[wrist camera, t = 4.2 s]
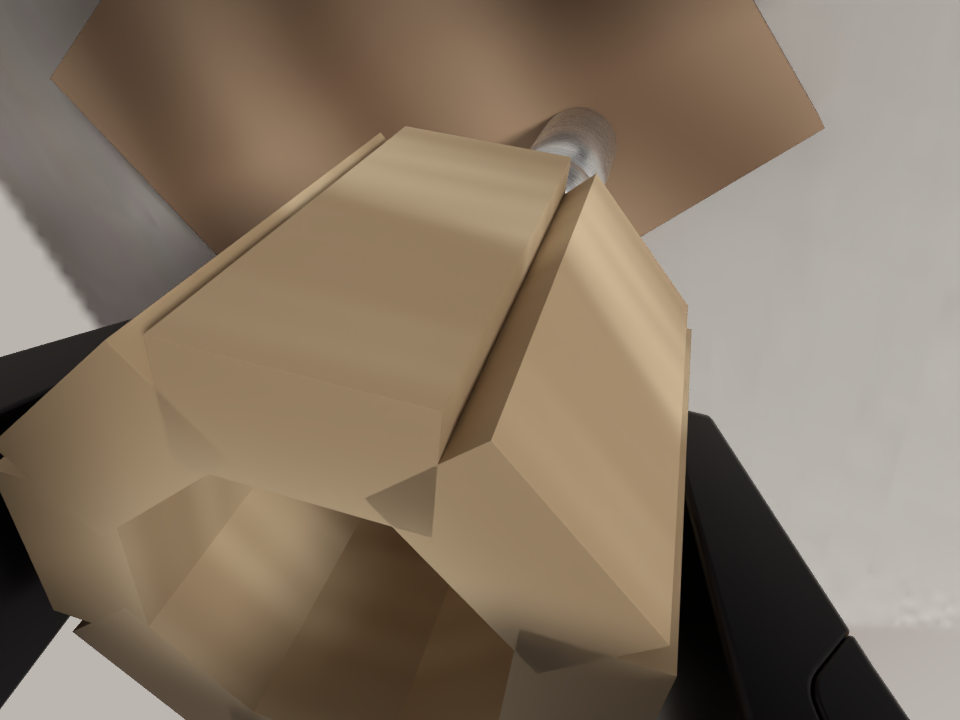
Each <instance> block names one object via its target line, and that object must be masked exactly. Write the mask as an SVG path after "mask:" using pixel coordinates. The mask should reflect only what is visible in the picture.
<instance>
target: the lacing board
mask: <svg viewBox="0 0 960 720" xmlns="http://www.w3.org/2000/svg"><path fill="white" fill-rule="evenodd" d="M50 79H51V80H52V81H53V82H54V83H55V84H56V85H57V86H58V87H59V89H60V90H61V91H62V92H63V93H64V94H65V95H66V96H67V97H68V98H69V99H70V100H71V101H72V102H73V103H74V104H75V105H76V107H77V108H78V109H79V110H80V111H81V112H82V113H83V114H84V115H85V116H86V117H87V118H88V119H89V120H90V121H91V122H92V123H93V125H94V126H95V127H96V128H97V129H98V130H99V131H100V132H101V133H102V134H103V135H104V136H105V137H106V138H107V139H108V140H109V141H110V143H111V144H112V145H113V146H114V147H115V148H116V149H117V150H118V151H119V152H120V153H121V154H122V155H123V156H124V157H125V158H126V159H127V161H128V162H129V163H130V164H131V165H132V166H133V167H134V168H135V169H136V170H137V171H138V172H139V173H140V174H141V175H142V176H143V177H144V179H145V180H146V181H147V182H148V183H149V184H150V185H151V186H152V187H153V188H154V189H155V190H156V191H157V192H158V193H159V194H160V195H161V197H162V198H163V199H164V200H165V201H166V202H167V203H168V204H169V205H170V206H171V207H172V208H173V209H174V210H175V211H176V212H177V213H178V215H179V216H180V217H181V218H182V219H183V220H184V221H185V222H186V223H187V224H188V225H189V226H190V227H191V228H192V229H193V230H194V231H195V233H196V234H197V235H198V236H199V237H200V238H201V239H202V240H203V241H204V242H205V243H206V244H207V245H208V246H209V247H210V248H211V249H212V251H213V252H214V253H215V254H216V255H219V254H220V253H221V252H223V251H224V250H225V249H226V248H228V247H229V246H230V245H232V244H233V243H234V242H236V241H237V240H238V239H240V238H241V237H242V236H244V235H245V234H246V233H248V232H249V231H250V230H252V229H253V228H254V227H256V226H257V225H258V224H260V223H261V222H262V221H264V220H265V219H266V218H268V217H269V216H270V215H272V214H273V213H274V212H276V211H277V210H278V209H280V208H281V207H282V206H284V205H285V204H286V203H288V202H289V201H290V200H292V199H293V198H294V197H296V196H297V195H298V194H300V193H301V192H302V191H303V190H305V189H306V188H307V187H309V186H310V185H311V184H313V183H314V182H315V181H317V180H318V179H319V178H321V177H322V176H323V175H325V174H326V173H327V172H329V171H330V170H331V169H333V168H334V167H335V166H337V165H338V164H339V163H341V162H342V161H343V160H345V159H346V158H347V157H349V156H350V155H351V154H353V153H354V152H355V151H357V150H358V149H359V148H361V147H362V146H363V145H365V144H366V143H367V142H369V141H370V140H371V139H373V138H374V137H375V136H376V135H378V134H379V133H380V132H381V134H382V135H383V136H384V137H385V139H386V140H389V139H390V138H391V137H392V136H394V135H395V134H396V133H398V132H399V131H400V130H401V129H403V128H404V127H405V126H407V127H413V128H418V129H423V130H429V131H434V132H439V133H445V134H450V135H455V136H461V137H466V138H472V139H477V140H482V141H488V142H493V143H498V144H504V145H509V146H514V147H520V148H525V149H530V148H531V147H532V145H533V144H534V142H535V141H536V139H537V138H538V136H539V135H540V133H541V132H542V130H543V129H544V127H545V126H546V124H547V123H548V122H549V120H550V119H551V118H552V117H553V116H555V115H556V114H557V113H559V112H560V111H562V110H565V109H568V108H572V107H586V108H590V109H593V110H595V111H597V112H599V113H600V114H601V115H603V116H604V117H605V118H606V119H607V120H608V121H609V123H610V124H611V126H612V127H613V129H614V132H615V135H616V140H617V151H616V156H615V159H614V162H613V165H612V168H611V171H610V174H609V177H608V180H607V182H606V185H605V186H606V188H607V189H608V191H609V192H610V194H611V195H612V197H613V198H614V200H615V201H616V202H617V204H618V205H619V207H620V208H621V210H622V211H623V213H624V214H625V215H626V217H627V218H628V220H629V221H630V223H631V224H632V226H633V227H634V229H635V230H636V231H637V233H638V234H639V236H640V237H641V236H643V235H644V234H646V233H648V232H650V231H651V230H653V229H655V228H656V227H658V226H660V225H661V224H663V223H665V222H666V221H668V220H670V219H672V218H673V217H675V216H677V215H678V214H680V213H682V212H683V211H685V210H687V209H689V208H690V207H692V206H694V205H695V204H697V203H699V202H700V201H702V200H704V199H705V198H707V197H709V196H711V195H712V194H714V193H716V192H717V191H719V190H721V189H722V188H724V187H726V186H728V185H729V184H731V183H733V182H734V181H736V180H738V179H739V178H741V177H743V176H745V175H746V174H748V173H750V172H751V171H753V170H755V169H756V168H758V167H760V166H761V165H763V164H765V163H767V162H768V161H770V160H772V159H773V158H775V157H777V156H778V155H780V154H782V153H784V152H785V151H787V150H789V149H790V148H792V147H794V146H795V145H797V144H799V143H800V142H802V141H804V140H806V139H807V138H809V137H811V136H812V135H814V134H816V133H817V132H819V131H821V130H823V129H824V128H825V127H824V125H823V123H822V121H821V119H820V117H819V115H818V113H817V111H816V109H815V108H814V106H813V104H812V102H811V101H810V99H809V97H808V95H807V94H806V92H805V90H804V88H803V87H802V85H801V83H800V81H799V80H798V78H797V76H796V74H795V73H794V71H793V69H792V67H791V65H790V64H789V62H788V60H787V58H786V57H785V55H784V53H783V51H782V50H781V48H780V46H779V44H778V43H777V41H776V39H775V37H774V36H773V34H772V32H771V30H770V29H769V27H768V25H767V23H766V21H765V20H764V18H763V16H762V14H761V13H760V11H759V9H758V7H757V6H756V4H755V2H754V0H101V1H100V3H99V4H98V6H97V7H96V9H95V10H94V12H93V13H92V15H91V16H90V18H89V20H88V21H87V23H86V24H85V26H84V27H83V29H82V30H81V32H80V33H79V35H78V36H77V38H76V39H75V41H74V42H73V44H72V45H71V47H70V49H69V50H68V52H67V53H66V55H65V56H64V58H63V59H62V61H61V62H60V64H59V65H58V67H57V68H56V70H55V71H54V73H53V74H52V76H51V78H50Z"/></svg>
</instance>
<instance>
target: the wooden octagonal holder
mask: <svg viewBox="0 0 960 720" xmlns="http://www.w3.org/2000/svg"><path fill="white" fill-rule="evenodd" d="M570 162H571V157H568V156H563V155H557V154H552V153H547V152H541V151H536V150H531V149H525V148H520V147H514V146H509V145H504V144H498V143H493V142H488V141H482V140H477V139H472V138H466V137H461V136H455V135H450V134H445V133H439V132H434V131H429V130H423V129H418V128H413V127H407V126H405V127H404V128H403V129H401V130H400V131H399V132H398V133H396V134H395V135H394V136H392V137H391V138H390V139H389V140H386V139H385V137H384V136H383V135H382V134H381V132H380V133H379V134H378V135H376V136H375V137H374V138H373V139H371V140H370V141H369V142H367V143H366V144H365V145H363V146H362V147H361V148H359V149H358V150H357V151H355V152H354V153H353V154H351V155H350V156H349V157H347V158H346V159H345V160H343V161H342V162H341V163H339V164H338V165H337V166H335V167H334V168H333V169H331V170H330V171H329V172H327V173H326V174H325V175H323V176H322V177H321V178H319V179H318V180H317V181H315V182H314V183H313V184H311V185H310V186H309V187H307V188H306V189H305V190H303V191H302V192H301V193H300V194H298V195H297V196H296V197H294V198H293V199H292V200H290V201H289V202H288V203H286V204H285V205H284V206H282V207H281V208H280V209H278V210H277V211H276V212H274V213H273V214H272V215H270V216H269V217H268V218H266V219H265V220H264V221H262V222H261V223H260V224H258V225H257V226H256V227H254V228H253V229H252V230H250V231H249V232H248V233H246V234H245V235H244V236H242V237H241V238H240V239H238V240H237V241H236V242H234V243H233V244H232V245H230V246H229V247H228V248H226V249H225V250H224V251H223V252H221V253H220V254H219V255H217V256H216V257H215V258H213V259H212V260H211V261H209V262H208V263H207V264H205V265H204V266H203V267H201V268H200V269H199V270H197V271H196V272H195V273H193V274H192V275H191V276H189V277H188V278H187V279H185V280H184V281H183V282H181V283H180V284H179V285H177V286H176V287H175V288H173V289H172V290H171V291H169V292H168V293H167V294H165V295H164V296H163V297H161V298H160V299H159V300H157V301H156V302H155V303H153V304H152V305H151V306H150V307H148V308H147V309H146V310H144V311H143V312H142V313H140V314H139V315H138V316H136V317H135V318H134V319H132V320H131V321H130V322H128V323H127V324H126V325H124V326H123V327H122V328H120V329H119V330H118V331H116V332H115V333H114V334H112V335H111V336H110V337H108V338H107V339H106V340H104V341H103V342H102V343H101V344H100V345H99V346H98V347H97V348H96V349H95V350H94V351H92V352H91V353H90V354H89V355H88V356H87V357H86V358H85V359H84V360H83V361H82V362H80V363H79V364H78V365H77V366H76V367H75V368H74V369H73V370H72V371H71V372H70V373H68V374H67V375H66V376H65V377H64V378H63V379H62V380H61V381H60V382H59V383H58V384H57V385H55V386H54V387H53V388H52V389H51V390H50V391H49V392H48V393H47V394H46V395H45V396H43V397H42V398H41V399H40V400H39V401H38V402H37V403H36V404H35V405H34V406H33V407H31V408H30V409H29V410H28V411H27V412H26V413H25V414H24V415H23V416H22V417H21V418H20V419H18V420H17V421H16V422H15V423H14V424H13V425H12V426H11V427H10V428H9V429H8V430H6V431H5V432H4V433H3V434H2V435H1V436H0V453H1V454H2V455H3V456H4V457H3V458H2V459H1V460H0V492H1V494H2V497H3V499H4V501H5V503H6V506H7V508H8V510H9V512H10V514H11V517H12V519H13V521H14V523H15V526H16V528H17V530H18V532H19V534H20V537H21V539H22V541H23V543H24V545H25V548H26V550H27V552H28V554H29V557H30V559H31V561H32V563H33V565H34V568H35V570H36V572H37V574H38V577H39V579H40V581H41V583H42V585H43V588H44V590H45V592H46V594H47V596H48V599H49V601H50V603H51V605H52V608H53V610H55V611H58V612H61V613H64V614H67V615H70V616H73V617H76V618H79V619H82V621H81V623H80V624H79V625H78V626H77V627H76V628H75V629H74V631H73V632H74V633H75V634H76V635H78V636H79V637H80V638H81V639H83V640H84V641H85V642H87V643H88V644H89V645H90V646H92V647H93V648H94V649H95V650H97V651H98V652H99V653H101V654H102V655H103V656H105V657H106V658H107V659H108V660H110V661H111V662H112V663H114V664H115V665H116V666H117V667H119V668H120V669H121V670H122V671H124V672H125V673H126V674H128V675H129V676H130V677H131V678H133V679H134V680H135V681H137V682H138V683H139V684H140V685H142V686H143V687H144V688H146V689H147V690H148V691H149V692H151V693H152V694H153V695H155V696H156V697H157V698H159V699H160V700H161V701H162V702H164V703H165V704H166V705H168V706H169V707H170V708H171V709H173V710H174V711H175V712H176V713H178V714H179V715H180V716H182V717H183V718H184V719H185V720H656V718H657V716H658V714H659V712H660V710H661V708H662V706H663V704H664V701H665V699H666V697H667V695H668V693H669V691H670V689H671V687H672V685H673V683H674V681H675V679H676V677H677V659H678V636H679V612H680V589H681V565H682V542H683V518H684V494H685V471H686V447H687V424H688V400H689V377H690V353H691V330H692V329H687V312H688V305H687V304H686V302H685V301H684V300H683V298H682V297H681V295H680V294H679V292H678V291H677V289H676V288H675V286H674V285H673V284H672V282H671V281H670V279H669V278H668V276H667V275H666V273H665V272H664V271H663V269H662V268H661V266H660V265H659V263H658V262H657V260H656V259H655V258H654V256H653V255H652V253H651V252H650V250H649V249H648V247H647V246H646V244H645V243H644V242H643V240H642V239H641V237H640V236H639V234H638V233H637V231H636V230H635V229H634V227H633V226H632V224H631V223H630V221H629V220H628V218H627V217H626V215H625V214H624V213H623V211H622V210H621V208H620V207H619V205H618V204H617V202H616V201H615V200H614V198H613V197H612V195H611V194H610V192H609V191H608V189H607V188H606V186H605V185H604V184H603V182H602V181H601V179H600V178H599V176H598V175H597V173H596V174H594V175H593V176H591V177H590V178H588V179H587V180H585V181H584V182H582V183H581V184H579V185H578V186H576V187H575V188H573V189H572V190H570V191H569V192H567V193H566V194H565V190H566V185H567V179H568V173H569V168H570Z"/></svg>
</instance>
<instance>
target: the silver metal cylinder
mask: <svg viewBox="0 0 960 720" xmlns="http://www.w3.org/2000/svg"><path fill="white" fill-rule="evenodd" d="M530 149H531V150H536V151H541V152H547V153H552V154H557V155H563V156H568V157H571V162H570V168H569V173H568V179H567V185H566V190H565V194H566V193H567V192H569V191H570V190H572V189H573V188H575V187H576V186H578V185H579V184H581V183H582V182H584V181H585V180H587V179H588V178H590V177H591V176H593V175H594V174H596V173H597V175H598V176H599V178H600V179H601V181H602V182H603V184H604V185H606V182H607V180H608V177H609V174H610V171H611V168H612V165H613V162H614V159H615V156H616V151H617V140H616V135H615V132H614V129H613V127H612V126H611V124H610V123H609V121H608V120H607V119H606V118H605V117H604V116H603V115H601V114H600V113H599V112H597V111H595V110H593V109H590V108H586V107H572V108H568V109H565V110H562V111H560V112H559V113H557V114H556V115H555V116H553V117H552V118H551V119H550V120H549V122H548V123H547V124H546V126H545V127H544V129H543V130H542V132H541V133H540V135H539V136H538V138H537V139H536V141H535V142H534V144H533V145H532V147H531V148H530Z"/></svg>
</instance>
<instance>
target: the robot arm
mask: <svg viewBox="0 0 960 720" xmlns="http://www.w3.org/2000/svg"><path fill="white" fill-rule="evenodd" d="M133 319H134V318H133ZM131 320H132V319H130V320H127V321H123V322H120V323H116V324H113V325H109V326H106V327H102V328H99V329H96V330H92V331H89V332H85V333H82V334H78V335H75V336H71V337H68V338H65V339H62V340H58V341H54V342H51V343H47V344H44V345H40V346H37V347H34V348H30V349H27V350H23V351H20V352H16V353H13V354H10V355H6V356H3V357H0V436H1V435H2V434H3V433H4V432H5V431H6V430H8V429H9V428H10V427H11V426H12V425H13V424H14V423H15V422H16V421H17V420H18V419H20V418H21V417H22V416H23V415H24V414H25V413H26V412H27V411H28V410H29V409H30V408H31V407H33V406H34V405H35V404H36V403H37V402H38V401H39V400H40V399H41V398H42V397H43V396H45V395H46V394H47V393H48V392H49V391H50V390H51V389H52V388H53V387H54V386H55V385H57V384H58V383H59V382H60V381H61V380H62V379H63V378H64V377H65V376H66V375H67V374H68V373H70V372H71V371H72V370H73V369H74V368H75V367H76V366H77V365H78V364H79V363H80V362H82V361H83V360H84V359H85V358H86V357H87V356H88V355H89V354H90V353H91V352H92V351H94V350H95V349H96V348H97V347H98V346H99V345H100V344H101V343H102V342H103V341H104V340H106V339H107V338H108V337H110V336H111V335H112V334H114V333H115V332H116V331H118V330H119V329H120V328H122V327H123V326H124V325H126V324H127V323H128V322H130V321H131ZM3 457H4V456H3V455H2V454H1V453H0V460H1V459H2V458H3ZM69 617H70V615H67V614H64V613H61V612H58V611H55V610H53V608H52V605H51V603H50V601H49V599H48V596H47V594H46V592H45V590H44V588H43V585H42V583H41V581H40V579H39V577H38V574H37V572H36V570H35V568H34V565H33V563H32V561H31V559H30V557H29V554H28V552H27V550H26V548H25V545H24V543H23V541H22V539H21V537H20V534H19V532H18V530H17V528H16V526H15V523H14V521H13V519H12V517H11V514H10V512H9V510H8V508H7V506H6V503H5V501H4V499H3V497H2V494H1V492H0V709H1V707H2V706H3V705H4V703H5V702H6V701H7V699H8V698H9V697H10V695H11V694H12V693H13V691H14V690H15V689H16V687H17V686H18V685H19V683H20V682H21V681H22V679H23V678H24V677H25V675H26V674H27V673H28V671H29V670H30V669H31V667H32V666H33V665H34V663H35V662H36V660H37V659H38V658H39V657H40V655H41V654H42V653H43V651H44V650H45V649H46V647H47V646H48V645H49V643H50V642H51V641H52V639H53V638H54V637H55V635H56V634H57V633H58V631H59V630H60V629H61V627H62V626H63V625H64V623H65V622H66V621H67V619H68V618H69ZM848 634H849V629H848V627H847V626H846V624H845V623H844V621H843V620H842V618H841V617H840V615H839V614H838V612H837V610H836V609H835V607H834V606H833V604H832V603H831V601H830V600H829V598H828V597H827V595H826V594H825V592H824V590H823V589H822V587H821V586H820V584H819V583H818V581H817V580H816V578H815V577H814V575H813V574H812V572H811V570H810V569H809V567H808V566H807V564H806V563H805V561H804V560H803V558H802V557H801V555H800V554H799V552H798V550H797V549H796V547H795V546H794V544H793V543H792V541H791V540H790V538H789V537H788V535H787V534H786V532H785V530H784V529H783V527H782V526H781V524H780V523H779V521H778V520H777V518H776V517H775V515H774V514H773V512H772V510H771V509H770V507H769V506H768V504H767V503H766V501H765V500H764V498H763V497H762V495H761V494H760V492H759V490H758V489H757V487H756V486H755V484H754V483H753V481H752V480H751V478H750V477H749V475H748V474H747V472H746V470H745V469H744V467H743V466H742V464H741V463H740V461H739V460H738V458H737V457H736V455H735V454H734V452H733V451H732V449H731V447H730V446H729V444H728V443H727V441H726V440H725V438H724V437H723V435H722V434H721V432H720V431H719V429H718V427H717V426H716V424H715V423H714V421H713V420H712V419H711V418H710V417H709V416H707V415H704V414H700V413H696V412H692V411H688V424H687V447H686V471H685V494H684V518H683V542H682V565H681V589H680V612H679V636H678V659H677V677H676V679H675V681H674V683H673V685H672V687H671V689H670V691H669V693H668V695H667V697H666V699H665V701H664V704H663V706H662V708H661V710H660V712H659V714H658V716H657V718H656V720H910V719H909V718H908V717H907V715H906V714H905V712H904V711H903V709H902V708H901V706H900V705H899V704H898V702H897V700H896V699H895V698H894V696H893V695H892V693H891V692H890V690H889V689H888V687H887V686H886V684H885V683H884V681H883V680H882V679H881V677H880V676H879V674H878V673H877V671H876V670H875V668H874V667H873V666H872V664H871V662H870V661H869V659H868V658H867V656H866V655H865V653H864V651H863V650H862V649H861V647H860V645H859V644H858V642H857V641H856V639H855V638H854V637H853V636H848Z"/></svg>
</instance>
